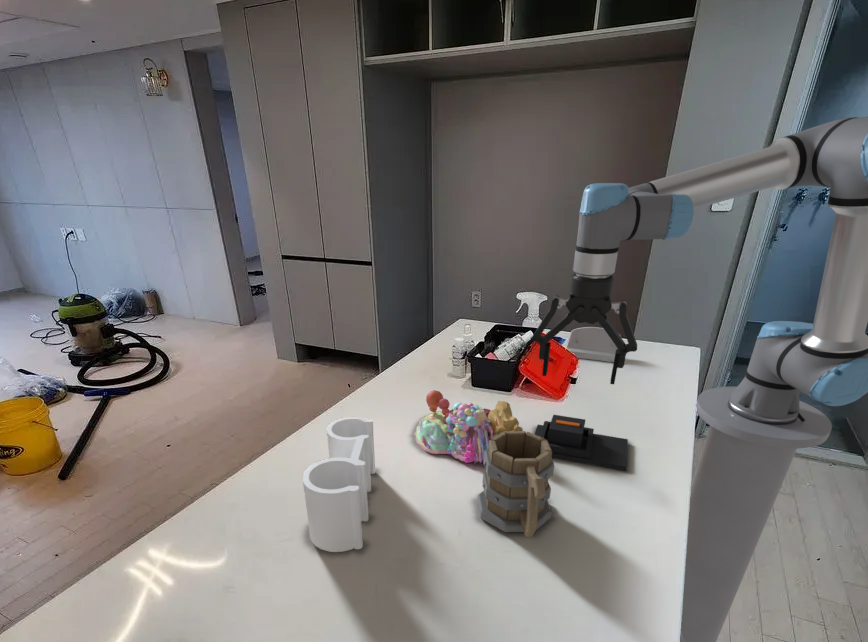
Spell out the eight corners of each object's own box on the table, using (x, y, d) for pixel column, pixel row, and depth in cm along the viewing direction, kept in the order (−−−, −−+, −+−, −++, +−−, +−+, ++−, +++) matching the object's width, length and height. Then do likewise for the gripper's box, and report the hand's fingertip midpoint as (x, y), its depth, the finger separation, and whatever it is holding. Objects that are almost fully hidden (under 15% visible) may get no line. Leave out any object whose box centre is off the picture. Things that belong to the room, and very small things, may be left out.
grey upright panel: (563, 356, 160) (569, 324, 159) (564, 356, 165) (569, 324, 163) (620, 362, 155) (625, 329, 154) (619, 362, 160) (625, 330, 158)
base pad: (626, 442, 114) (629, 433, 113) (626, 471, 105) (628, 460, 103) (537, 427, 121) (538, 418, 119) (528, 453, 111) (529, 443, 109)
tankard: (475, 489, 99) (479, 422, 92) (539, 489, 99) (549, 421, 92) (488, 563, 82) (495, 487, 74) (567, 562, 82) (581, 487, 74)
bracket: (333, 467, 106) (328, 416, 100) (379, 468, 106) (377, 417, 100) (303, 551, 84) (294, 492, 79) (361, 553, 84) (357, 493, 78)
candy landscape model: (513, 412, 127) (516, 379, 123) (534, 464, 107) (539, 426, 102) (413, 414, 127) (413, 380, 122) (415, 467, 106) (415, 428, 102)
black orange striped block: (582, 436, 115) (585, 418, 112) (579, 452, 109) (583, 433, 107) (550, 431, 117) (553, 413, 115) (546, 446, 111) (549, 427, 109)
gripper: (664, 273, 95) (642, 377, 105) (529, 266, 103) (521, 364, 113) (666, 283, 89) (642, 392, 99) (523, 274, 96) (514, 377, 107)
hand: (577, 377), depth 106 cm, fingers open, 13 cm apart
